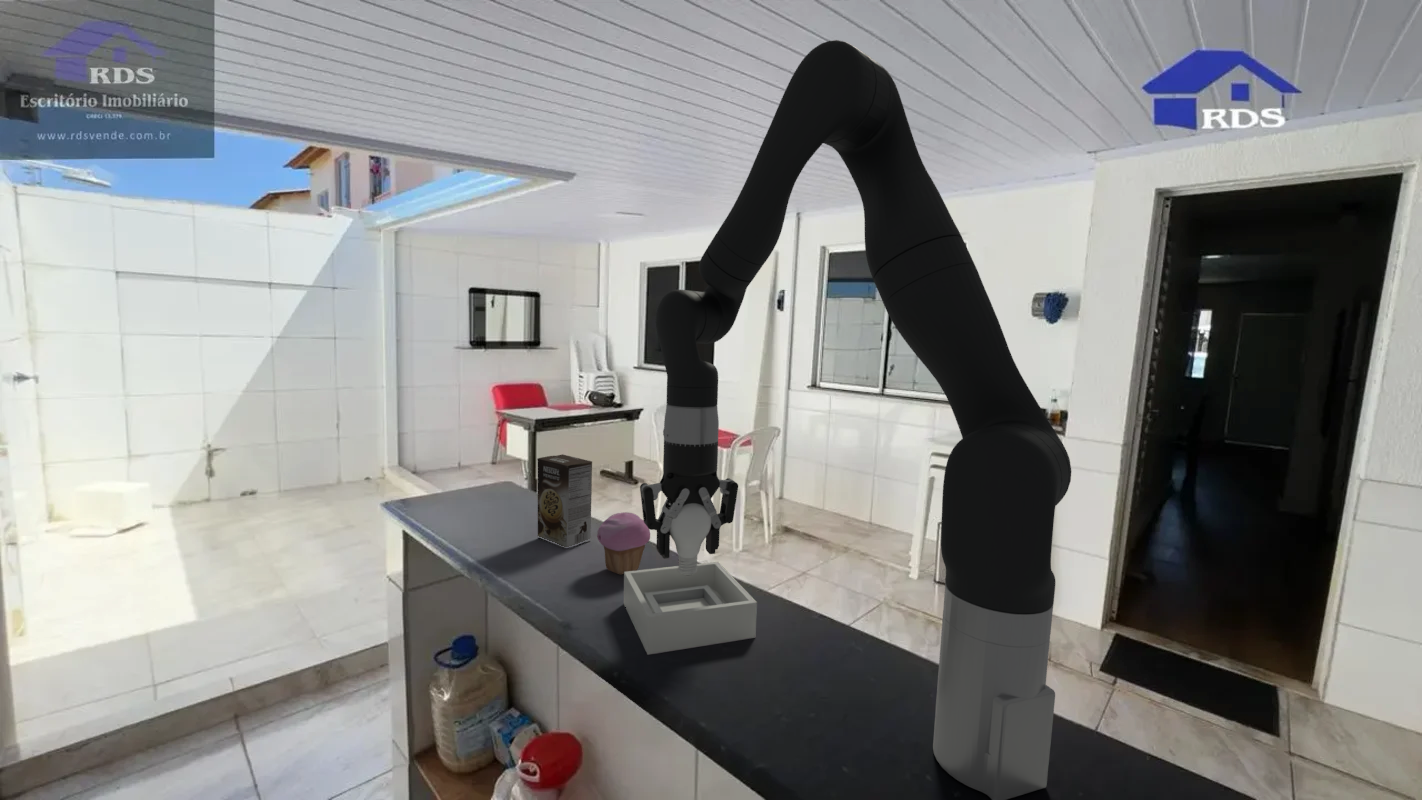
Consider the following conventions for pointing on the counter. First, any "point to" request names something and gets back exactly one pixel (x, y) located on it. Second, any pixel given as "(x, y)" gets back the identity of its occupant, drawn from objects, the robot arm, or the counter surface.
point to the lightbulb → (689, 535)
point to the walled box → (688, 607)
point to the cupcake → (623, 541)
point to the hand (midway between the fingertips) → (688, 553)
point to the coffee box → (564, 499)
